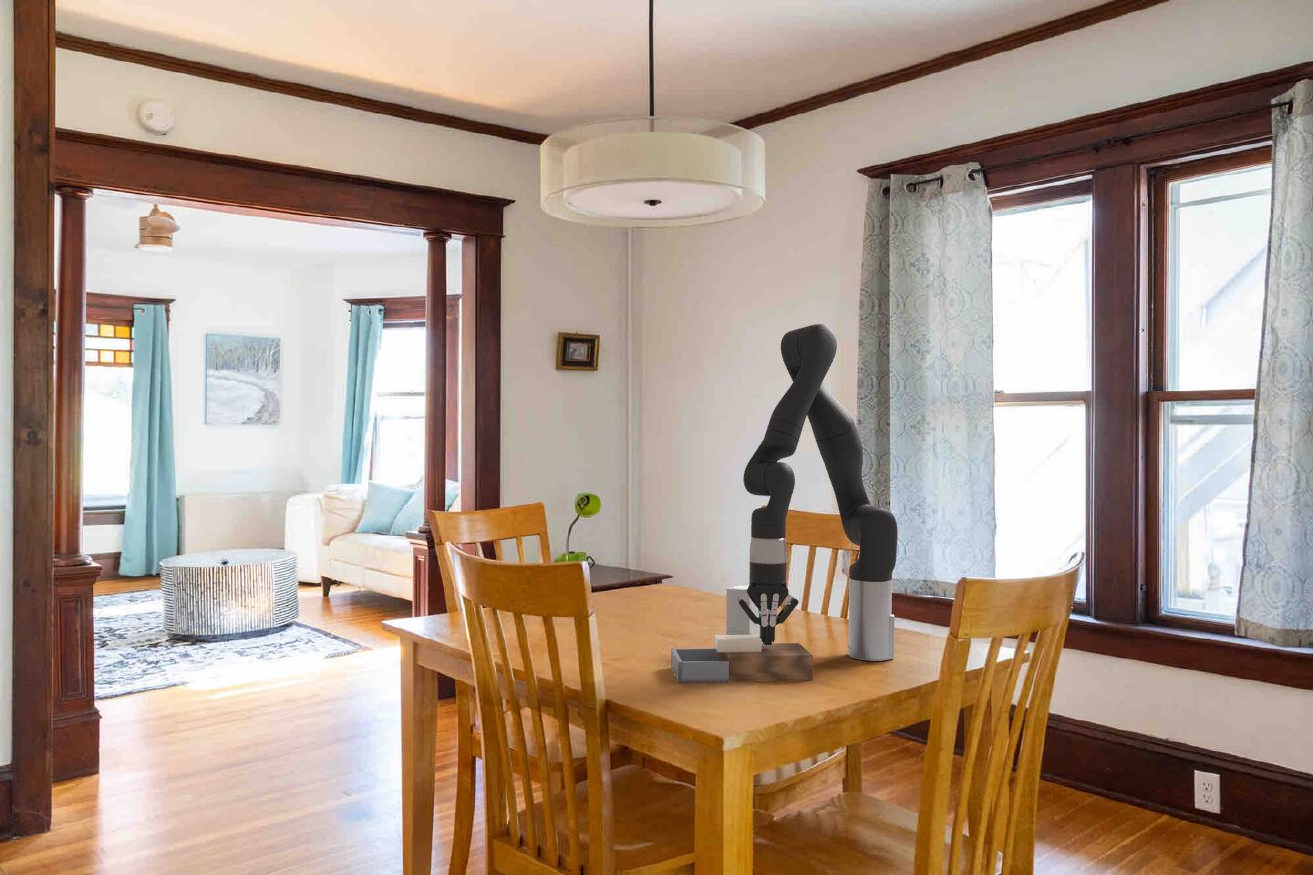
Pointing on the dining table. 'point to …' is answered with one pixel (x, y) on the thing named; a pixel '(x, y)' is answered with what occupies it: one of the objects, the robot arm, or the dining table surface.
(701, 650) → the tray
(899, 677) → the dining table surface
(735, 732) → the dining table surface
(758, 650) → the tile
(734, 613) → the skincare box
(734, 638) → the tile
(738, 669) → the brown wooden block
